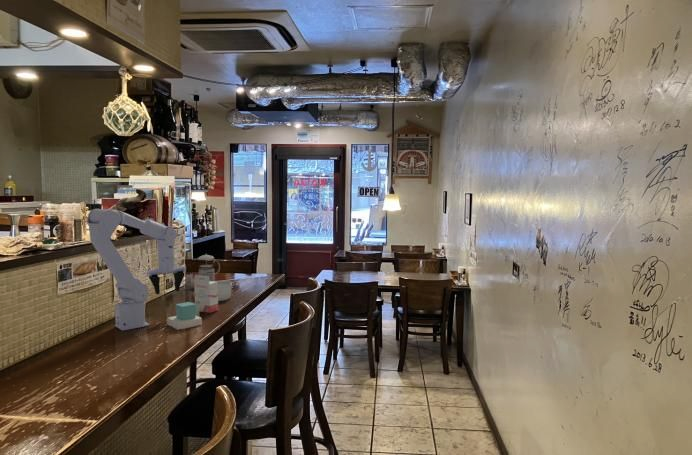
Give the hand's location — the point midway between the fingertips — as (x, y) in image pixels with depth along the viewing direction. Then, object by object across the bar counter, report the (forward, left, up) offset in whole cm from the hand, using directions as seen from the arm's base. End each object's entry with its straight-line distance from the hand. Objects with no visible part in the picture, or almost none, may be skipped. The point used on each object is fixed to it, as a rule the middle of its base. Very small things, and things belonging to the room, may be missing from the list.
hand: (167, 292), depth 184 cm
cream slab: (0, -15, -10) cm, 18 cm away
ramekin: (+28, +14, -10) cm, 33 cm away
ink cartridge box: (+15, -2, -10) cm, 18 cm away
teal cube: (0, -15, -7) cm, 17 cm away
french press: (+40, +46, -10) cm, 62 cm away
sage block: (+7, -5, -10) cm, 13 cm away
